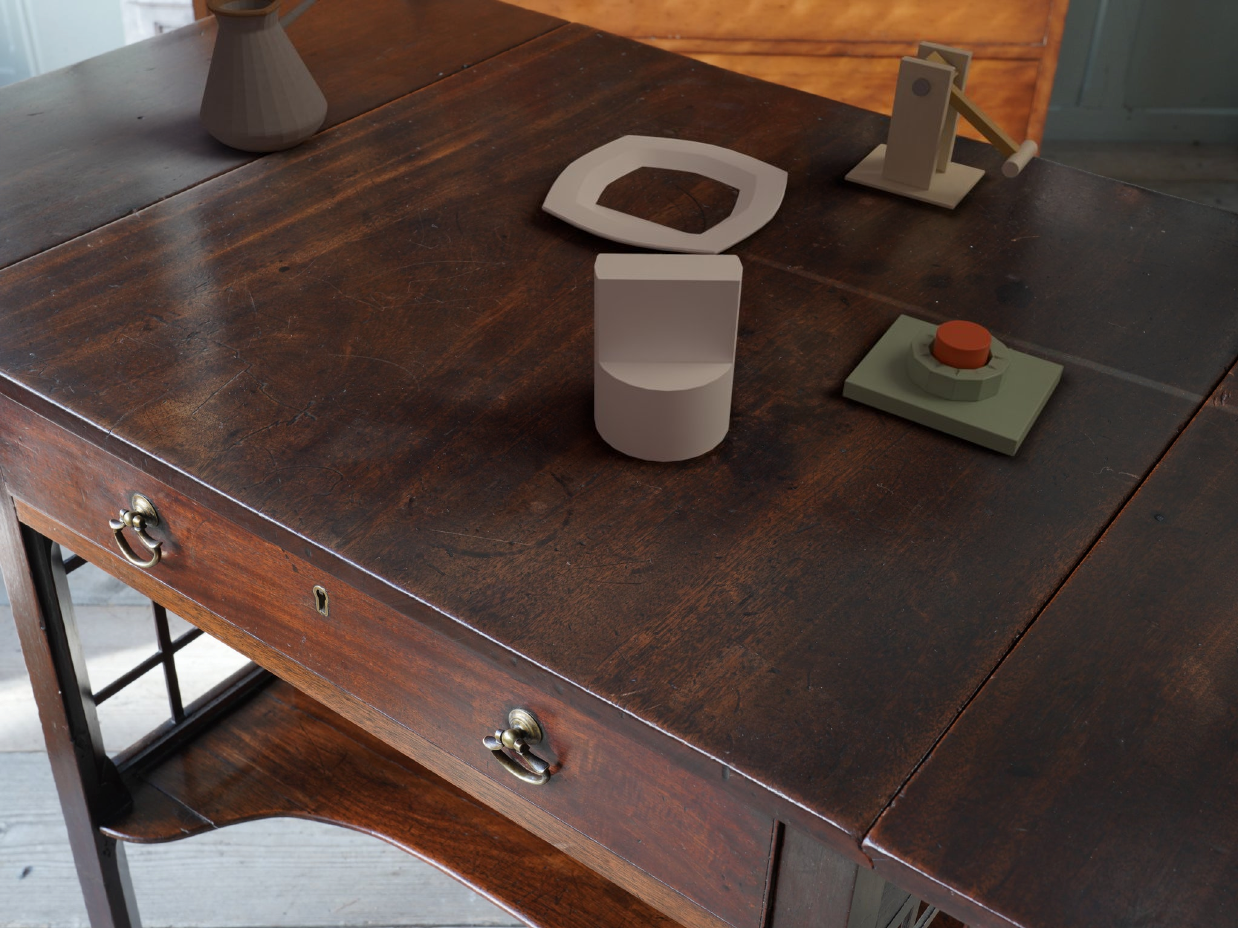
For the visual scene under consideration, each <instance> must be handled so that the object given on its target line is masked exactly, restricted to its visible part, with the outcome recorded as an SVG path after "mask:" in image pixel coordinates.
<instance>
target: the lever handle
mask: <svg viewBox="0 0 1238 928" xmlns="http://www.w3.org/2000/svg"><path fill="white" fill-rule="evenodd" d="M925 60H926V61H931V62H935V63H939V64H944V65H948V66H951V65H950V64H948V63H947V62H946V61H945V60H944V59H943V58H942V57H941V56H940V55H939V54H938V53H937V52H936V51H934V52H933V53H931V54H930V55H929V56H928V57H927V58H926V59H925ZM958 74H959V73H958V72H957V71H956V70H955V73H954V78H953V80H954V79H955V77H956V76H957V75H958ZM949 104H950V105H951V106H952V107H953V108H954V109H955V110H956V111H958V112H959V113H960V116H962V117H963V118H964V119H965V120H966V121H967V122H968V123H969V124H970V125H971V126H972V127H973V128H974V129H975V130H976V131H977V132H979V134H981V135H982V136H983V137H984V138H985V139H986V140H987V141H988V142H989V144H991V145H992V146H993V147H994V148H995V149H996V150H998V151H999V153H1001V155H1003V156H1004V157H1005V158H1006V161H1004V163H1003V164H1002V166H1001V172H1002V174H1003V175H1004V177H1006V178H1009V179H1013V178H1016V177H1017V176H1018V175H1019V174H1020V172H1021V171H1022V170H1023V169H1024V168H1025V166H1026V165H1028V164H1029V162H1030V161H1031V160H1032V158H1033V157H1035V155H1036V154H1037V153H1038V150H1039V149H1038V144H1037V142H1036V141H1034V140H1032V139H1025V140H1024V141H1022V142H1021V144H1020V145H1019V144H1018V143H1017V142H1016V141H1015V140H1013V139H1012V137H1010V135H1008V134H1007V132H1005V131H1004V130H1003V129H1002V128H1001V127H1000V126H999V125H997V123H996V122H994V120H992V119H991V118H990V117H989V116H988V115H987V114H986V113H985V112H984V111H983V110H982V109H981V108H980V107H979V106H977V104H975V102H973V101H972V100H971V99H970V97H968V96H967V95H966V94H965V92H964V93H963V92H962V91H961V90H960V89H958V88H957V87H956V86H955V85H954V84H953V83H952V89H951V94H950V99H949Z"/></svg>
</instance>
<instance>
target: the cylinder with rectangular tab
mask: <svg viewBox="0 0 1238 928" xmlns="http://www.w3.org/2000/svg"><path fill="white" fill-rule="evenodd" d="M593 268H594V269H593V270H594V271H593V272H594V273H593V283H594V284H593V303H594V304H593V306H594V307H593V308H594V309H593V326H594V327H593V328H594V329H593V331H594V332H593V333H594V334H593V335H594V336H593V345H594V346H593V355H594V356H593V359H594V360H593V363H594V364H593V365H594V367H593V368H594V369H593V370H594V373H593V375H594V377H593V378H594V379H593V381H594V382H593V384H594V386H593V387H594V388H593V390H594V391H593V392H594V393H593V394H594V396H593V397H594V398H593V399H594V400H593V401H594V402H593V404H594V405H593V407H594V410H593V419H594V422H595V428H596V429H595V430H597V432H598V434H599V435H600V437H601V438H602V440H603V441H604V442H606V443H607V444H608V445H610V447H611V448H613V449H614V450H617V451H618V452H621V453H623V454H625V455H627V456H629V457H632V458H637V459H641V460H644V461H650V462H651V461H652V462H653V461H654V462H663V463H665V462H676V461H680V462H681V461H684V460H689V459H692V458H696V457H699V456H701V455H704V454H705V453H708V452H711V451H712V450H713V449H715V448H716V447H717V446H718V445H719V444H720V443H721V442H722V441H723V440H724V439H725V437H726V435H727V433H728V431H729V428H730V418H731V417H730V415H731V406H732V405H731V404H732V393H733V385H734V383H733V382H734V371H735V361H736V348H737V338H738V329H739V328H738V327H739V326H738V325H739V316H740V304H741V294H742V293H741V292H742V281H743V271H744V267H743V265H742V262H741V259H740V257H739V256H738V255H737V254H716V255H707V254H680V253H679V254H671V253H670V254H665V253H664V254H663V253H598V255H597V256H596V259H595V262H594V266H593Z"/></svg>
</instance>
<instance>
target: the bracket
mask: <svg viewBox="0 0 1238 928" xmlns="http://www.w3.org/2000/svg"><path fill="white" fill-rule="evenodd" d="M934 51H936V52H937V53H938V54H939V55H940V56H941V57H942V58H943V59H944V60H945V61H946V62H947V63H948V64H950V65H951V66H948V65H944V64H939V63H935V62H931V61H926V60H925V59H926V58H927V57H928V56H929V55H930V54H931V53H933V52H934ZM972 58H973V51H971V50H967V49H962V48H957V47H952V46H949V45H948V46H947V45H944V44H939V43H934V42H931V41H926V40H922V41H921V42H920V43H919V44H918V47H917V53H916V57H912V56H909V55H904V56H903V57H902V58H901V59H900V61H899V69H898V73H897V80H896V87H895V93H894V98H893V104H892V110H891V116H890V124H889V128H888V134H887V142H886V144H884V143H879V144H878V145H877V146H876V147H875V148H874V149H873V150H872V151H871V152H869V154H868V155H867V156H866V157H864V158H863V159H862V160H861V161H860V162H859V163H857V165H856V166H855V167H853V169H851V170H850V171H849V172H848V173H847V174H846V175H845V176H844V180H845V181H849V182H851V183H852V182H853V183H856V184H860V185H863V186H867V187H871V188H875V189H878V190H882V191H885V192H889V193H892V194H896V195H899V196H903V197H908V198H910V199H914V200H917V201H921V202H924V203H929V204H932V205H936V206H939V207H942V208H945V209H949V210H954V209H955V208H956V207H957V206H958V205H959V203H960V202H961V201H962V200H963V199H964V197H965V196H966V195H968V193H969V192H970V191H972V189H973V187H975V186H976V184H978V182H979V181H980V180H981V179H982V178H983V177H984V175H985V173H986V171H985V170H984V169H980V168H977V167H972V166H969V165H966V164H965V165H964V164H961V163H957V162H954V161H952V158H953V157H952V156H953V152H954V147H955V142H956V137H957V131H958V127H959V122H960V118H961V117H960V116H961V114H960V113H959V112H958V111H956V110H955V109H954V108H953V107H952V106H951V105H950V104H949V99H950V94H951V89H952V83H953V84H954V85H955V86H956V87H957V88H958V89H960V90H961V91H962V92H963V93H964V94H965V91H966V87H967V82H968V77H969V72H970V67H971V62H972ZM955 70H956V71H957V72H958V73H959V74H958V75H957V76H956V77H955V79H954V80H953V78H954V73H955Z"/></svg>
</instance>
